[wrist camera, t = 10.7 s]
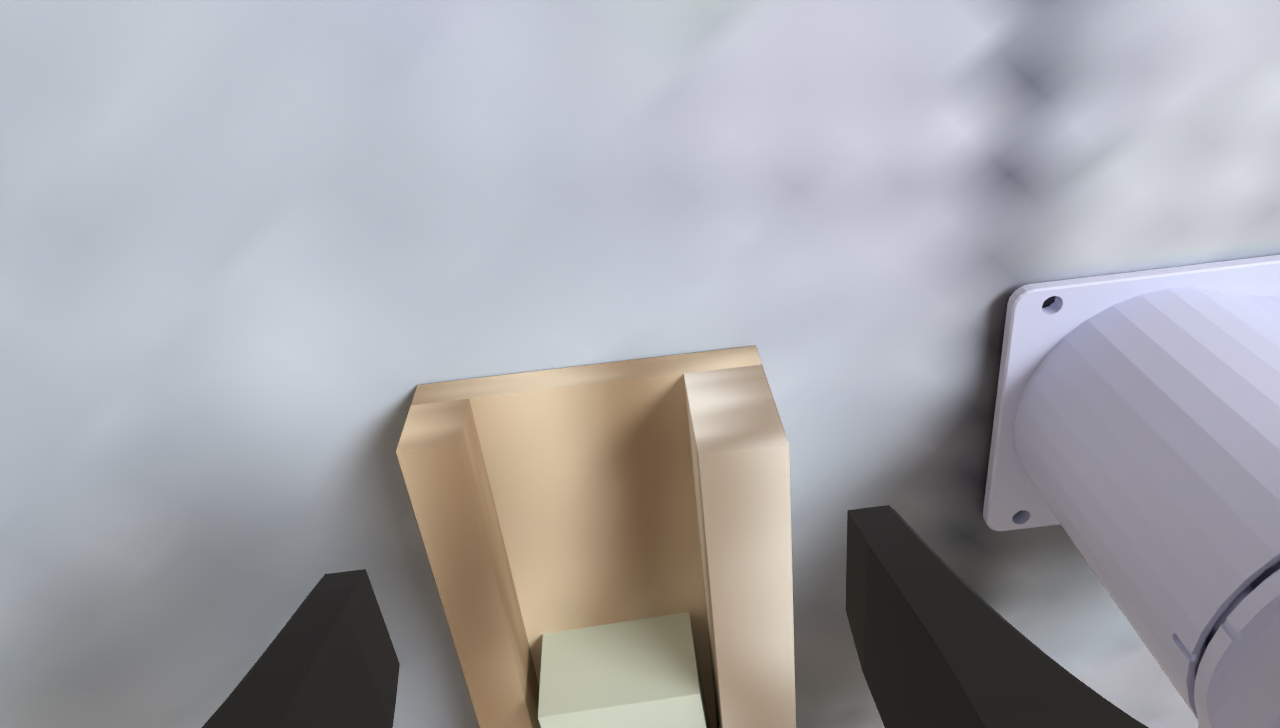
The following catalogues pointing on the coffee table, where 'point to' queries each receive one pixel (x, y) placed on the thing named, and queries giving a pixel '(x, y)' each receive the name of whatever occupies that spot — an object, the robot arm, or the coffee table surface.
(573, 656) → the slab with grey handle
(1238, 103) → the coffee table surface
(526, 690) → the board
